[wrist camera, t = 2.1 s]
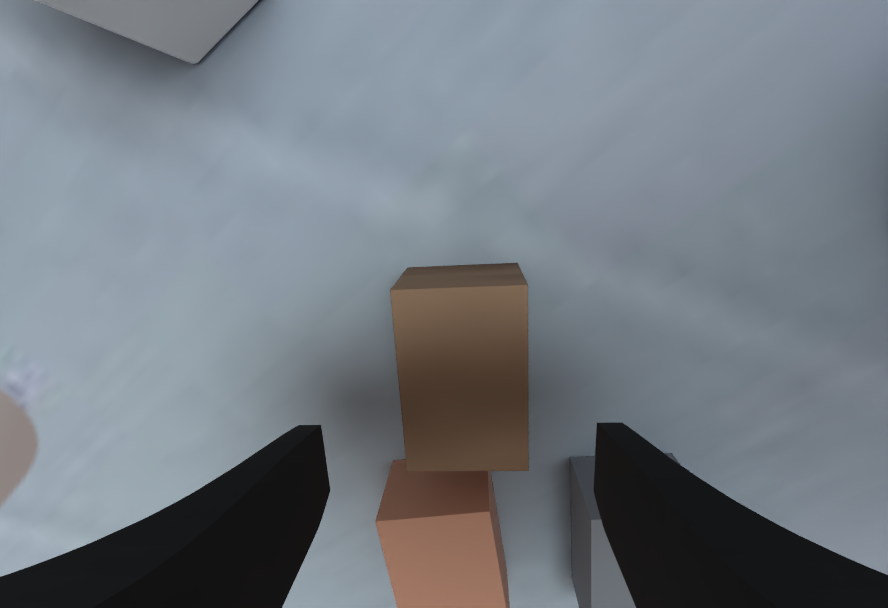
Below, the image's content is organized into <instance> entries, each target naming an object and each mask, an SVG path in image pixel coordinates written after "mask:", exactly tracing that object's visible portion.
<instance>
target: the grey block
mask: <svg viewBox="0 0 888 608" xmlns="http://www.w3.org/2000/svg"><path fill="white" fill-rule="evenodd" d="M666 455H667V456H668V457H670V458H671V459H672V460H674V461H675V462H677V463H678V461H677V460H676V458H675V457H674V456H673V454H672V453H669V454H666ZM678 464H679V463H678ZM679 465H680V464H679ZM594 471H595V456H586V457H570V488H571V556H572V580H573V584H574V588H575V592H576V596H577V600H578V605H579V608H636V606H635V604H634V601H633V599H632V597H631V594H630V592H629V589H628V587H627V585H626V582H625V580H624V577H623V575H622V573H621V570H620V568H619V565H618V563H617V561H616V558H615V556H614V553H613V551H612V548H611V546H610V543H609V541H608V538H607V536H606V533H605V531H604V528H603V524H602V521H601V517H600V514H599V510H598V507H597V503H596V499H595V495H594V491H593V490H594Z"/></svg>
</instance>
